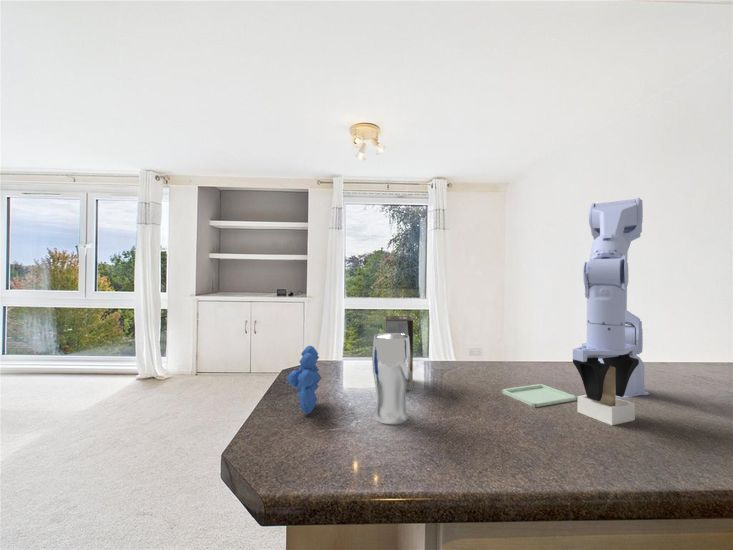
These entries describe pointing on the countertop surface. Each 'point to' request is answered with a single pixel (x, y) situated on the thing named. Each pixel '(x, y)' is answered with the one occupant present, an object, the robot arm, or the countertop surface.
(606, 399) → the dowel
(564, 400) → the tray
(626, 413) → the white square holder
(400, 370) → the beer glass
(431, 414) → the countertop surface
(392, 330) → the coffee box
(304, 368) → the grapes
